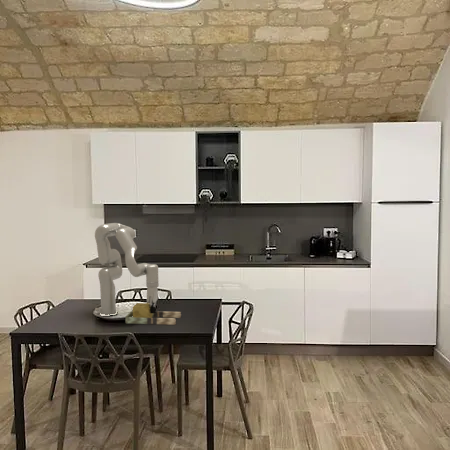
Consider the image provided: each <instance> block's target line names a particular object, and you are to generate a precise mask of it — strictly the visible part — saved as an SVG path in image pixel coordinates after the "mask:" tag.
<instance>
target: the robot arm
mask: <svg viewBox="0 0 450 450" xmlns="http://www.w3.org/2000/svg"><path fill="white" fill-rule="evenodd" d="M109 237H115V238H116V240H117V242H118V244H119V245H120V247H121V249H122V251H123V253H124V261H125V263H124V264H125V266H126V268H127V269H128V271H129V273H130V275H131V276H133V277H134V278H138V277H139V278H140V277H143V276H145V277H146V279H145V284H146V288H147V289H146V303H150V313H156V310H157V307H156V306H157V301H158V300H159V298H158V297H159V293H158V292H159V291H158V287H159V284H160V283H159V266H158V265H157V264H156V263H155V264H154V263H152V264H151V263H146V262H143V263H137V261H136V259H135V252H136V251H137V249H138V246H137V243H136V242H135V241H134V239H135V238H136V232H135V229H134V228H132V227H130V226H127V225H125V224H121V223H118V222H111V223H103V224H100V225H99V226H97V228H96V229H95V232H94V239H95V244H96V249H97V250H96V251H97V258H98V261H99V264H100V265H102V266H105V265H106V266H105V267H102V268H101V269H100V270H99V271H98V281H99V286H100V287H99V288H100V307H95V309H94V311H95V312H100V313H101V314H105V315H108V314H109V315H110V314H115V313H116V311H117V310H116V309H117V307H116V306H117V305H116V303H117V302H116V300H117V299H116V286H115V283H114V280H117V279H120V278H121V277H122V276H123V265H122V257H121V254H120V251H119V250H117V249H116V248H111V242H110V240H109ZM107 265H108V266H107Z"/></svg>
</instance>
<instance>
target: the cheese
mask: <svg viewBox="0 0 450 450" xmlns="http://www.w3.org/2000/svg"><path fill="white" fill-rule="evenodd" d="M132 310H133V317H137V318H153V317H152V313H150V302H149V303H147V302H139V303H138V302H136V303H135V304H134V305H133V306H132Z"/></svg>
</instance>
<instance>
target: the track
mask: <svg viewBox="0 0 450 450" xmlns="http://www.w3.org/2000/svg"><path fill="white" fill-rule="evenodd" d="M181 313H182V311H156V313H152V318H137V317H132V316H133V309H132V310H131V311H130V312H129V313H128V314H126V315H125V324H137V325H138V324H139V325H143V324H144V325H169V326H170V325H173V326H174V325H177V322H176V321H177V320H176V318H177V319H181V318H182V317H181V316H182V314H181Z"/></svg>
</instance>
